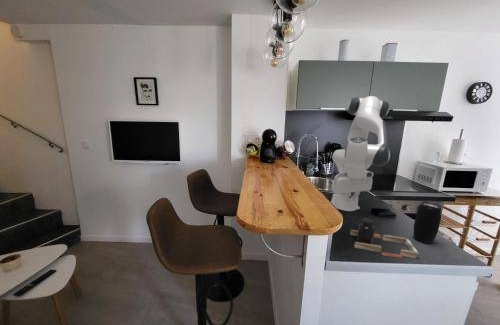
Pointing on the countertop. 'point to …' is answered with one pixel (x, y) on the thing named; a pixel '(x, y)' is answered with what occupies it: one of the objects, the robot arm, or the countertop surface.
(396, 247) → the countertop surface
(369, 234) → the supplement bottle
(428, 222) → the portable speaker
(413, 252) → the channel
